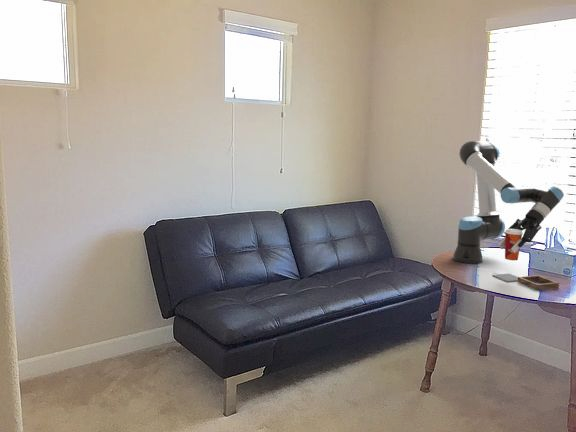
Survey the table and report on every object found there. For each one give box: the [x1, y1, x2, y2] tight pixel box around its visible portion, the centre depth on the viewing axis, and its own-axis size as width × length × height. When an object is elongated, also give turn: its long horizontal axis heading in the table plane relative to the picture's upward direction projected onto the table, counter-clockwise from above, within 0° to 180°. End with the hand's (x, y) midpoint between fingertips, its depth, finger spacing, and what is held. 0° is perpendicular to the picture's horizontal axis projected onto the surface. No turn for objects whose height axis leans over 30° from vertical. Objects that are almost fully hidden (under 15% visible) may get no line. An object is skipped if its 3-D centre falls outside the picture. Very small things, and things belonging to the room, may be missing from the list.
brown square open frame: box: [516, 274, 560, 291], centre depth 226 cm, size 12×12×2 cm
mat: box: [491, 273, 519, 283], centre depth 235 cm, size 10×10×1 cm
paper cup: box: [504, 228, 524, 261], centre depth 232 cm, size 8×8×14 cm
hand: (506, 248), depth 231 cm, fingers closed on paper cup, 8 cm apart
